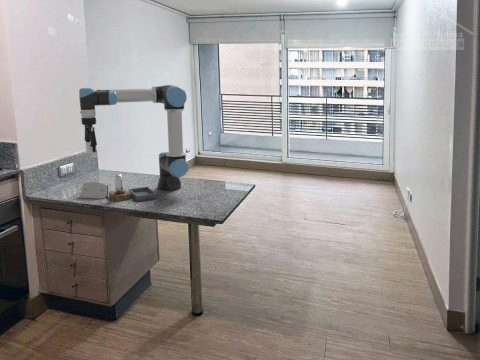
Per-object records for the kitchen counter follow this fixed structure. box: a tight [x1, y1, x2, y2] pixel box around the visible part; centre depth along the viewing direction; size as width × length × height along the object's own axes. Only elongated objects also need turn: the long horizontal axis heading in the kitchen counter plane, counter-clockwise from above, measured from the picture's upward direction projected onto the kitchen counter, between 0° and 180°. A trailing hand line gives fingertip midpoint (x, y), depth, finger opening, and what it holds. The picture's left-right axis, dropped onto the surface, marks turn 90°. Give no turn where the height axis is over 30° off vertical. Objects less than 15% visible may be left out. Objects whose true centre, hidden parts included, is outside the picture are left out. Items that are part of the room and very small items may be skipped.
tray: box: [128, 186, 158, 202], centre depth 275 cm, size 12×18×3 cm, turn 29°
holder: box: [108, 189, 132, 202], centre depth 272 cm, size 10×10×3 cm
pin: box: [114, 173, 124, 195], centre depth 270 cm, size 4×4×14 cm
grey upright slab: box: [79, 181, 110, 199], centre depth 275 cm, size 17×5×10 cm, turn 81°
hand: (91, 155), depth 253 cm, fingers open, 13 cm apart
